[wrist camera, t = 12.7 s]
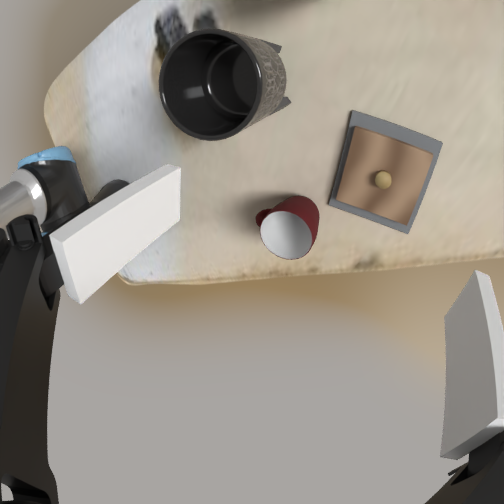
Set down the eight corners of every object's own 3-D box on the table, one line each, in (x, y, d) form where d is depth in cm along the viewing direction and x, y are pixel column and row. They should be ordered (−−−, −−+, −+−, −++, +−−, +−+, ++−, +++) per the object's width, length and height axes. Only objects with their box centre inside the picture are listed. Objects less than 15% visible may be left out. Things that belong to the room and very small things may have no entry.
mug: (273, 229, 58) (251, 258, 50) (264, 187, 54) (239, 212, 46) (330, 228, 53) (316, 260, 45) (324, 184, 49) (308, 209, 42)
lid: (337, 196, 49) (334, 203, 47) (355, 125, 41) (353, 128, 39) (406, 221, 46) (407, 229, 44) (432, 152, 38) (434, 157, 36)
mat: (329, 203, 51) (328, 205, 50) (353, 110, 41) (352, 110, 40) (408, 232, 47) (408, 234, 47) (442, 142, 37) (442, 143, 37)
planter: (236, 120, 49) (171, 147, 36) (222, 47, 43) (148, 47, 29) (312, 112, 44) (271, 135, 30) (299, 32, 37) (249, 14, 24)
